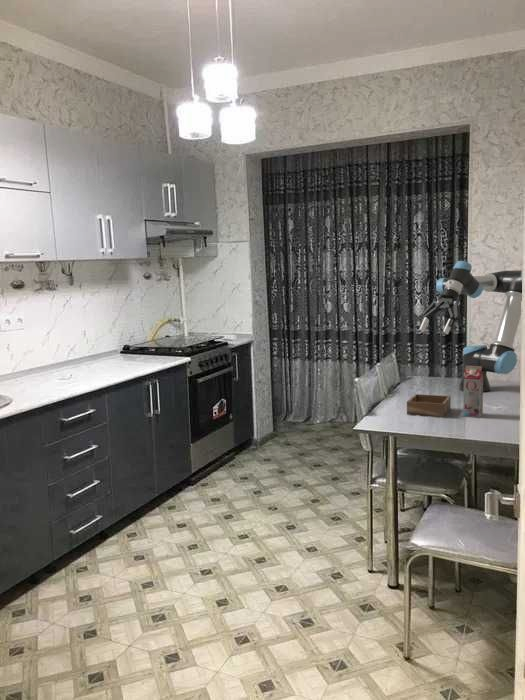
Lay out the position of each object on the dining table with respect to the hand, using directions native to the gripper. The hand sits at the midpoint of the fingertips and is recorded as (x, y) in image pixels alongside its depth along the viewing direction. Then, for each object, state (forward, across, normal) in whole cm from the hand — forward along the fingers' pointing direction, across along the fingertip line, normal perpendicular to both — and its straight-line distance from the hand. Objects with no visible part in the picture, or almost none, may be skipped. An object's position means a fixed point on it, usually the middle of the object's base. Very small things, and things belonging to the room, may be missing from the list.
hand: (433, 331), depth 265 cm
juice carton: (+27, +18, +25) cm, 41 cm away
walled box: (+32, +2, +17) cm, 36 cm away
